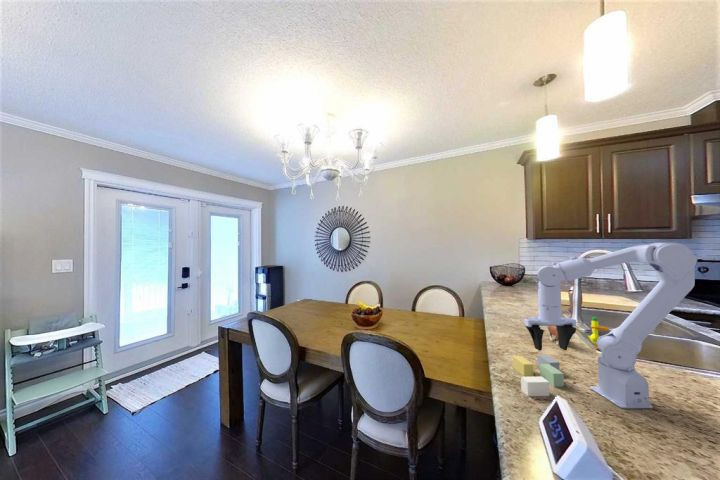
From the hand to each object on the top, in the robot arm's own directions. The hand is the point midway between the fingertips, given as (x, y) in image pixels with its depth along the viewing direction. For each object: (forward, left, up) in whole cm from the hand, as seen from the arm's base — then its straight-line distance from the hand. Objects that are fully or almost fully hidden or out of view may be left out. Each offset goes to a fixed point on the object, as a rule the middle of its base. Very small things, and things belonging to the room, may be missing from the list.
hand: (550, 349), depth 79 cm
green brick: (0, 0, -10) cm, 10 cm away
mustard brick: (+6, +5, -10) cm, 13 cm away
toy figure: (+24, -36, -10) cm, 44 cm away
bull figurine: (+29, -24, -10) cm, 39 cm away
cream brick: (-6, +9, -10) cm, 15 cm away
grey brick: (+7, -4, -10) cm, 13 cm away
